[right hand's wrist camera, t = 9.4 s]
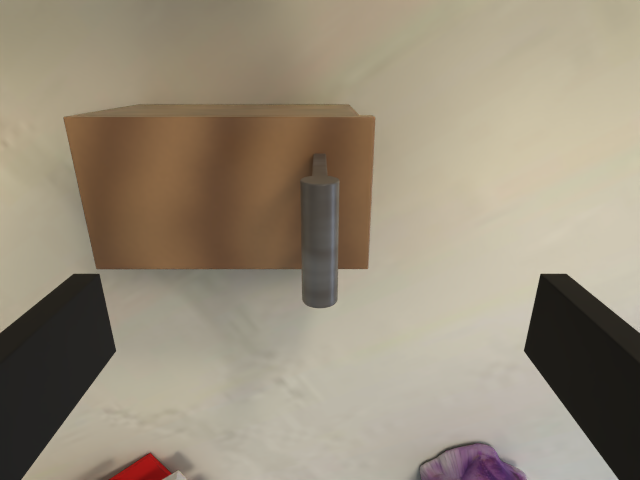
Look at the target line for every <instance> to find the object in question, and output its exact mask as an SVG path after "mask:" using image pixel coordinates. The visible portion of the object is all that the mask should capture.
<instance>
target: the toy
mask: <svg viewBox="0 0 640 480" xmlns="http://www.w3.org/2000/svg"><path fill="white" fill-rule="evenodd" d="M109 480H188V479H187V478H186V477H185V476H184V475H183V474H182V473H181V472H180V471H179V470H178V471H176V472H174V473H173V474H172V473H171V472H170V471H168V470H167V469H166V468H165V467H164V466H163V465H162V464H161V463H160V462H159V461H158V460H157V459H156V458H155V457H154V456H153V455H152V454H151V453H149V454H148V455H146V456H145V457H143V458H141V459H140V460H138V461H137V462H135V463H134V464H132V465H131V466H129V467H128V468H126V469H125V470H123V471H121V472H120V473H118V474H117V475H115V476H114V477H112V478H111V479H109Z"/></svg>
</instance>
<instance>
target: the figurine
mask: <svg viewBox="0 0 640 480" xmlns="http://www.w3.org/2000/svg"><path fill="white" fill-rule="evenodd" d="M420 475H421V478H422V479H421V480H527V476H526V475H525V473H524V472H522V471H521V470H519V469H518V468H516V467H514V466H512V465H509V464H507V463H505V462H502V461H501V460H500V459H499V457H498V455H497V453H496V451H495V450H494V449H493V448H492V447H491V446H489V445H485V444H481V443H476V444H472V445H467V446H462V447H457V448H453V449H450V450H446V451H445V452H444V453H442V454H441V455H439V456H438V457H437V458H435V459H433V460H430V461H429V462H426V463H425V464H423V465H421V467H420Z"/></svg>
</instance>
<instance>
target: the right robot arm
mask: <svg viewBox="0 0 640 480" xmlns="http://www.w3.org/2000/svg"><path fill="white" fill-rule="evenodd" d="M115 352H116V348H115V344H114V339H113V335H112V330H111V325H110V321H109V316H108V311H107V307H106V302H105V298H104V293H103V288H102V284H101V279H100V274H73V275H72V276H70V277H69V278H68V279H67V280H65V281H64V282H63V283H62V284H61V285H59V286H58V287H57V288H56V289H54V290H53V291H52V292H51V293H49V294H48V295H47V296H46V297H44V298H43V299H42V300H41V301H39V302H38V303H37V304H36V305H35V306H33V307H32V308H31V309H30V310H28V311H27V312H26V313H25V314H23V315H22V316H21V317H20V318H18V319H17V320H16V321H15V322H14V323H12V324H11V325H10V326H9V327H7V328H6V329H5V330H4V331H2V332H1V333H0V480H21V479H22V478H23V476H24V475H25V474H26V472H27V471H28V470H29V468H30V467H31V466H32V464H33V463H34V462H35V460H36V459H37V457H38V456H39V455H40V453H41V452H42V451H43V449H44V448H45V447H46V445H47V444H48V443H49V441H50V440H51V438H52V437H53V436H54V434H55V433H56V432H57V430H58V429H59V428H60V426H61V425H62V424H63V422H64V421H65V420H66V418H67V417H68V415H69V414H70V413H71V411H72V410H73V409H74V407H75V406H76V405H77V403H78V402H79V401H80V399H81V398H82V396H83V395H84V394H85V392H86V391H87V390H88V388H89V387H90V386H91V384H92V383H93V382H94V380H95V379H96V377H97V376H98V375H99V373H100V372H101V371H102V369H103V368H104V367H105V365H106V364H107V363H108V361H109V360H110V358H111V357H112V356H113V354H114V353H115ZM524 352H525V353H526V354H527V356H528V357H529V358H530V360H531V361H532V363H533V364H534V365H535V367H536V368H537V369H538V371H539V372H540V373H541V375H542V376H543V377H544V379H545V380H546V382H547V383H548V384H549V386H550V387H551V388H552V390H553V391H554V392H555V394H556V395H557V396H558V398H559V399H560V401H561V402H562V403H563V405H564V406H565V407H566V409H567V410H568V411H569V413H570V414H571V415H572V417H573V418H574V420H575V421H576V422H577V424H578V425H579V426H580V428H581V429H582V430H583V432H584V433H585V434H586V436H587V437H588V438H589V440H590V441H591V443H592V444H593V445H594V447H595V448H596V449H597V451H598V452H599V453H600V455H601V456H602V457H603V459H604V460H605V462H606V463H607V464H608V466H609V467H610V468H611V470H612V471H613V472H614V474H615V475H616V476H617V478H618V479H619V480H640V333H639V332H638V331H636V330H635V329H634V328H633V327H631V326H630V325H629V324H628V323H626V322H625V321H624V320H623V319H622V318H620V317H619V316H618V315H617V314H615V313H614V312H613V311H612V310H610V309H609V308H608V307H607V306H605V305H604V304H603V303H602V302H601V301H599V300H598V299H597V298H596V297H594V296H593V295H592V294H591V293H589V292H588V291H587V290H586V289H584V288H583V287H582V286H581V285H579V284H578V283H577V282H576V281H575V280H573V279H572V278H571V277H570V276H568V275H567V274H540V279H539V284H538V288H537V293H536V298H535V302H534V307H533V311H532V316H531V321H530V325H529V330H528V335H527V339H526V344H525V348H524Z"/></svg>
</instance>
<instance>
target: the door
mask: <svg viewBox="0 0 640 480" xmlns="http://www.w3.org/2000/svg"><path fill="white" fill-rule="evenodd" d="M64 122H65V127H66V132H67V136H68V141H69V145H70V150H71V154H72V159H73V164H74V168H75V173H76V177H77V182H78V187H79V191H80V196H81V200H82V205H83V209H84V214H85V219H86V223H87V228H88V232H89V237H90V242H91V246H92V251H93V255H94V260H95V264H96V269H302V300H303V302H304V303H305V304H306V305H307V306H310V307H313V308H326V307H330V306H332V305H334V304H335V303H336V302H337V294H338V269H368V262H369V241H370V219H371V198H372V177H373V156H374V134H375V117H374V116H372V115H73V116H67V117H64Z"/></svg>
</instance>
